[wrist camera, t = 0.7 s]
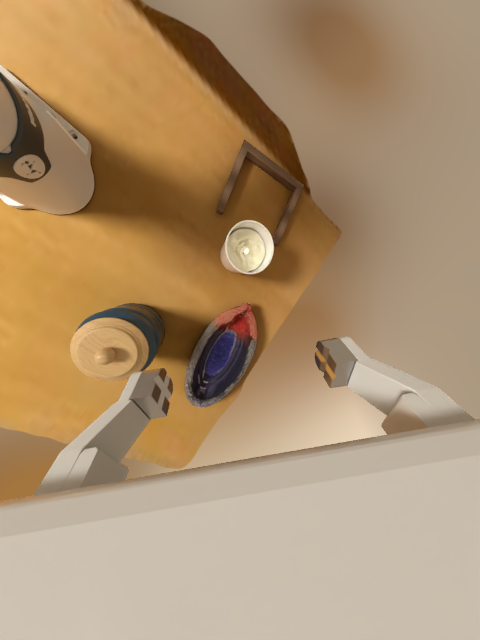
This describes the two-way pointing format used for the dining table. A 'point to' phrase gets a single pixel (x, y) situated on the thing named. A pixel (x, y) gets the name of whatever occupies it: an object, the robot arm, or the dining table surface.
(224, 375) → the dish
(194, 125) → the dining table surface
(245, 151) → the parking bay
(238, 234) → the candle holder
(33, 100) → the robot arm
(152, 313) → the canister
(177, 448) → the dining table surface
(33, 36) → the dining table surface
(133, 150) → the dining table surface
